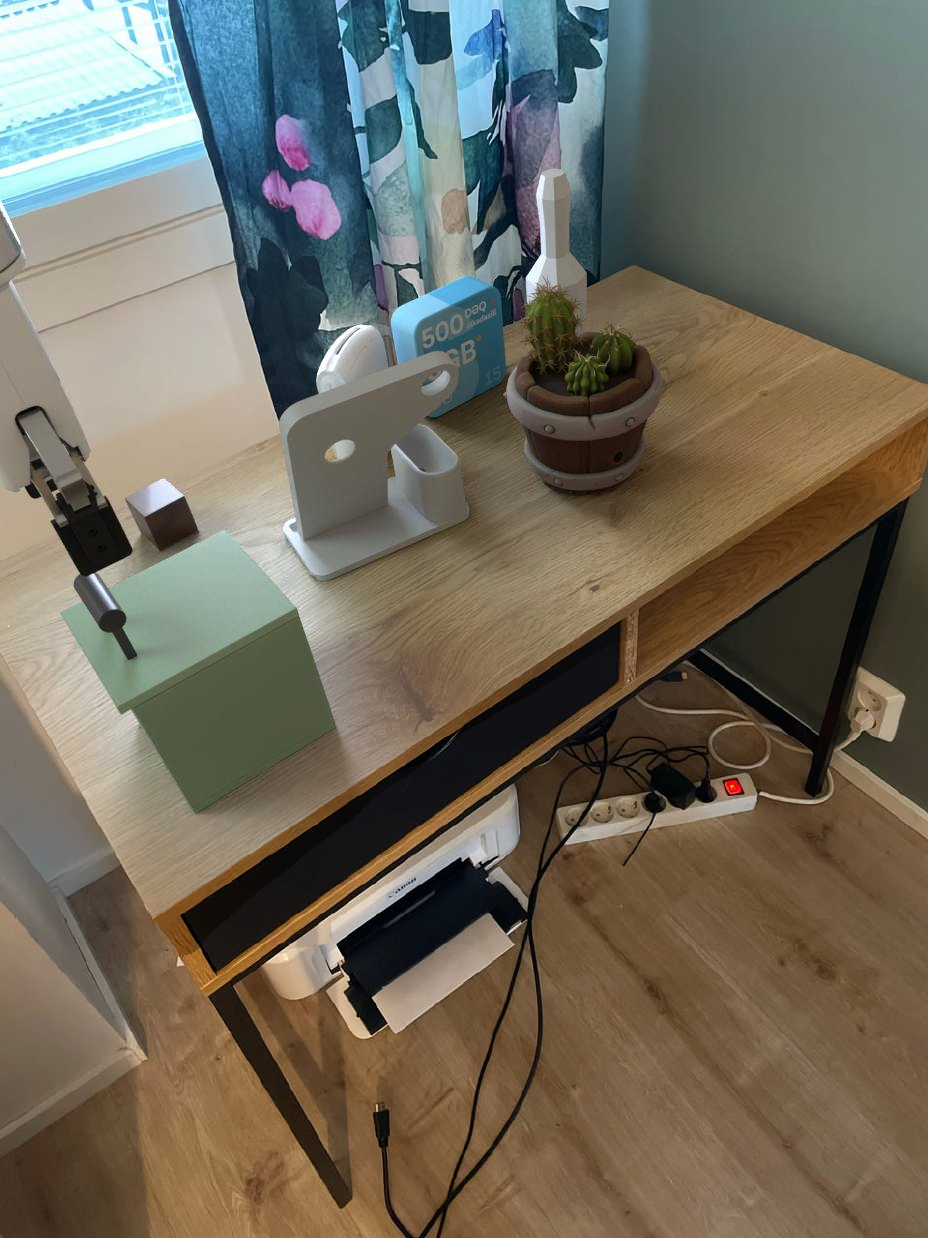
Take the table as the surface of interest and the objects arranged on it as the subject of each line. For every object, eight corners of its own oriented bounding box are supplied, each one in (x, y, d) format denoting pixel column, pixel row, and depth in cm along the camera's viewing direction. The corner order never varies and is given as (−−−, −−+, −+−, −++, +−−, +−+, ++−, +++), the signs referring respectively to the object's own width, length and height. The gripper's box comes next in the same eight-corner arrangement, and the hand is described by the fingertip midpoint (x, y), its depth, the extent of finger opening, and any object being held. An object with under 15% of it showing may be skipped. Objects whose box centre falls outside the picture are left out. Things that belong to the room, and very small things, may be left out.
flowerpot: (683, 447, 93) (699, 259, 79) (607, 531, 85) (610, 338, 71) (564, 411, 100) (559, 231, 86) (484, 485, 92) (464, 301, 78)
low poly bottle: (557, 347, 110) (551, 156, 94) (597, 363, 106) (597, 168, 90) (521, 369, 107) (508, 177, 91) (560, 387, 103) (554, 189, 88)
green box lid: (121, 715, 58) (87, 660, 54) (64, 619, 65) (30, 565, 61) (299, 615, 63) (280, 558, 59) (228, 536, 70) (207, 481, 66)
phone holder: (431, 466, 95) (406, 307, 82) (478, 515, 89) (459, 351, 76) (280, 529, 91) (229, 370, 78) (318, 586, 84) (269, 423, 71)
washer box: (195, 814, 68) (132, 709, 59) (138, 721, 75) (74, 614, 66) (337, 726, 72) (299, 616, 63) (270, 647, 79) (228, 537, 70)
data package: (427, 423, 101) (412, 324, 93) (404, 408, 104) (387, 310, 95) (508, 379, 106) (500, 282, 97) (483, 366, 108) (474, 270, 100)
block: (160, 552, 90) (144, 517, 87) (140, 532, 93) (123, 497, 89) (199, 530, 92) (184, 495, 89) (178, 511, 94) (163, 477, 91)
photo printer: (366, 469, 96) (343, 366, 87) (330, 464, 98) (304, 362, 89) (403, 416, 103) (385, 315, 94) (369, 412, 104) (348, 312, 95)
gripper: (-178, 226, 47) (-18, 487, 59) (-112, 341, 36) (66, 630, 49) (-34, 181, 49) (90, 440, 62) (65, 276, 39) (192, 566, 51)
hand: (80, 523), depth 55 cm, fingers open, 9 cm apart
